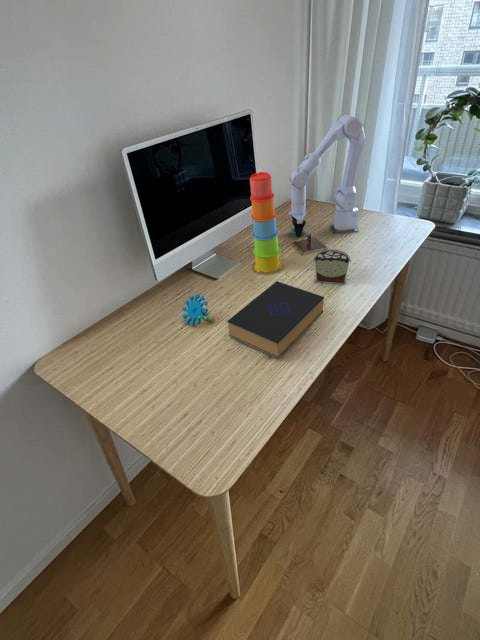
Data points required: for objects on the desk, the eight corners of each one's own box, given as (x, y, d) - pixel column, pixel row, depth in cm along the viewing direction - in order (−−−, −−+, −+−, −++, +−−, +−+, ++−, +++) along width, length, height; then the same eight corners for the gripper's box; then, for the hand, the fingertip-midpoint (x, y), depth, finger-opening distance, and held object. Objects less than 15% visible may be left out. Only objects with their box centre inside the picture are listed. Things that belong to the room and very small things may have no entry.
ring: (303, 231, 165) (304, 227, 164) (305, 237, 160) (305, 232, 159) (290, 232, 165) (290, 227, 164) (291, 237, 161) (291, 233, 160)
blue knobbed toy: (175, 313, 122) (192, 287, 120) (187, 317, 126) (203, 292, 125) (195, 333, 115) (212, 305, 114) (207, 336, 120) (224, 310, 119)
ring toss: (314, 239, 159) (315, 227, 156) (326, 249, 151) (326, 237, 148) (292, 244, 157) (292, 232, 154) (303, 254, 149) (303, 242, 146)
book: (229, 338, 112) (227, 320, 108) (276, 297, 127) (276, 280, 123) (278, 361, 103) (277, 342, 99) (323, 314, 118) (324, 296, 114)
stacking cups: (282, 273, 139) (281, 177, 118) (254, 275, 140) (248, 180, 119) (280, 259, 147) (278, 167, 126) (253, 261, 148) (247, 170, 127)
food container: (349, 275, 135) (352, 249, 129) (348, 284, 130) (351, 258, 124) (314, 272, 138) (315, 247, 132) (312, 281, 133) (313, 256, 127)
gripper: (287, 195, 160) (287, 226, 168) (289, 209, 149) (289, 240, 157) (304, 194, 160) (303, 225, 168) (307, 207, 148) (306, 239, 156)
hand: (297, 232), depth 162 cm, fingers closed on ring, 5 cm apart
